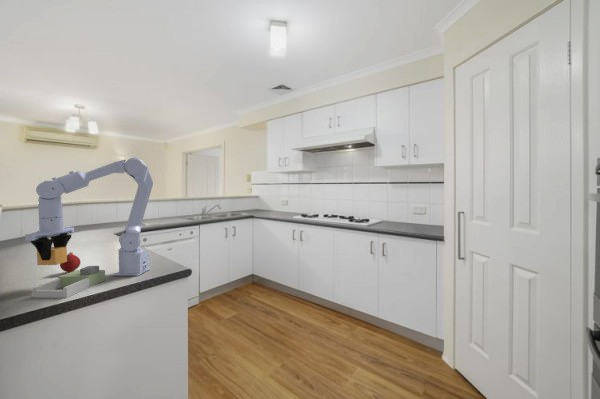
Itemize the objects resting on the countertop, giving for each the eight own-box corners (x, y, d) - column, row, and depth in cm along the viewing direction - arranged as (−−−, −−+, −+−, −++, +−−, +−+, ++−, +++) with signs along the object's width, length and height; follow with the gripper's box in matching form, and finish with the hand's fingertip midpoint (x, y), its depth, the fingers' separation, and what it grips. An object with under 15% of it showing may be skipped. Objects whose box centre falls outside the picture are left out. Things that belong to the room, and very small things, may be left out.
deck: (105, 279, 90) (104, 264, 90) (67, 297, 75) (66, 279, 75) (77, 279, 90) (76, 264, 90) (33, 297, 75) (32, 279, 75)
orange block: (67, 261, 86) (66, 247, 86) (55, 265, 82) (55, 249, 82) (49, 261, 86) (48, 247, 86) (37, 265, 82) (36, 249, 82)
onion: (68, 275, 94) (67, 254, 94) (56, 274, 95) (55, 253, 95) (84, 271, 100) (83, 251, 99) (72, 270, 101) (72, 250, 101)
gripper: (60, 215, 91) (61, 252, 91) (14, 220, 76) (16, 264, 77) (79, 215, 91) (80, 252, 91) (37, 220, 76) (39, 264, 77)
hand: (52, 258), depth 84 cm, fingers closed on orange block, 4 cm apart
